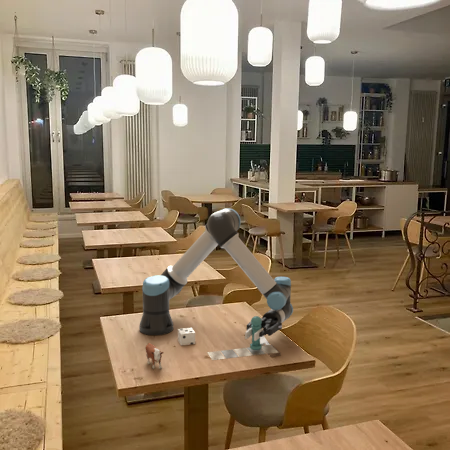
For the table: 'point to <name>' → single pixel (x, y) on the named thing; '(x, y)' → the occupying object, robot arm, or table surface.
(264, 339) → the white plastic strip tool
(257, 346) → the pawn
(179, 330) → the die
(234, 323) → the table surface
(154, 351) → the bull figurine
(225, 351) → the board
